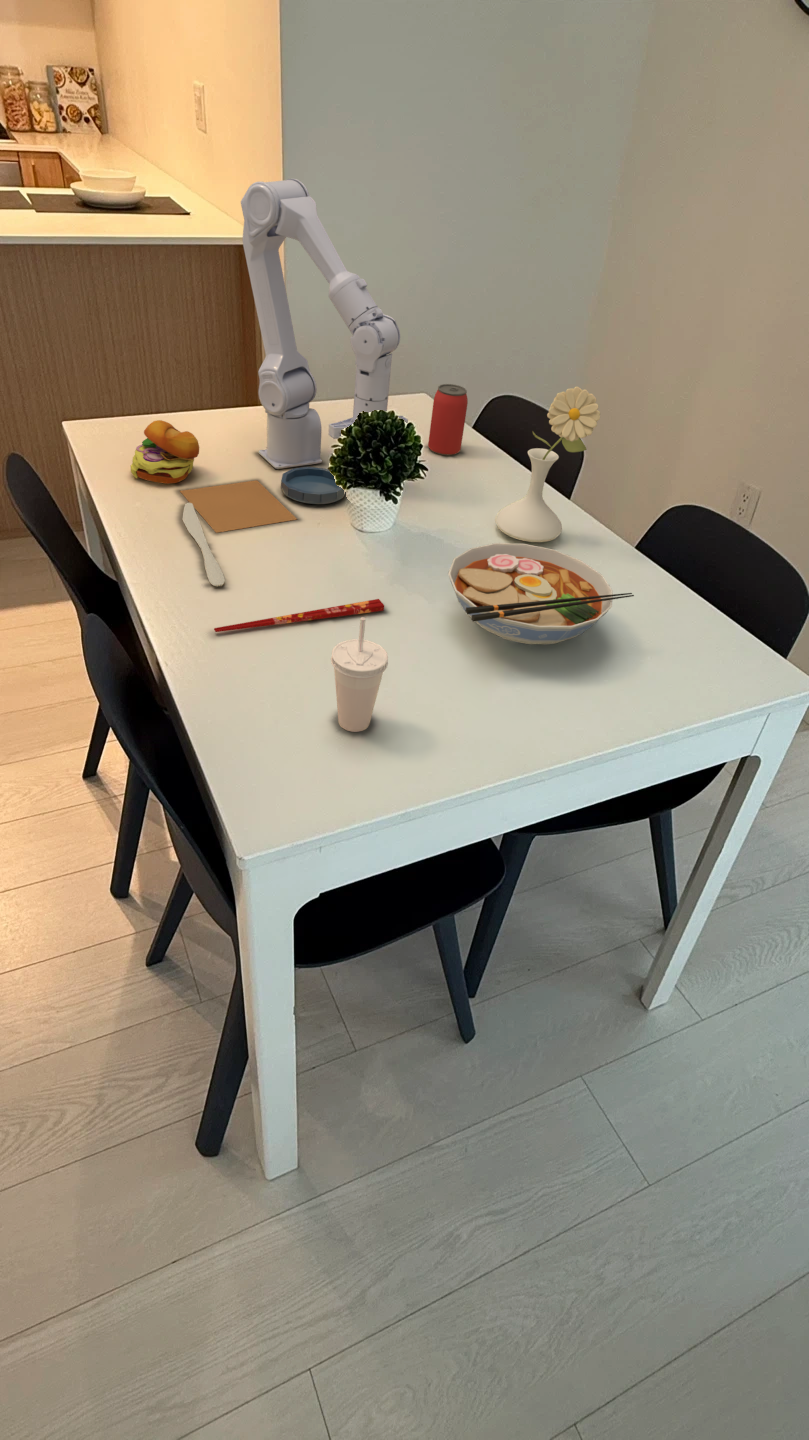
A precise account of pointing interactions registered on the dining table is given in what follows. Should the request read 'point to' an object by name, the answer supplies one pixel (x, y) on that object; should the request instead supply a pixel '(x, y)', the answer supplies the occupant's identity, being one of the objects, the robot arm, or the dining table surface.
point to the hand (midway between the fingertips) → (365, 473)
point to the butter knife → (202, 545)
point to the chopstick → (312, 615)
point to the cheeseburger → (165, 454)
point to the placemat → (237, 506)
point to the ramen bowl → (529, 592)
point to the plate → (311, 485)
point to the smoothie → (357, 679)
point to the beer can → (448, 419)
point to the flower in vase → (531, 514)
